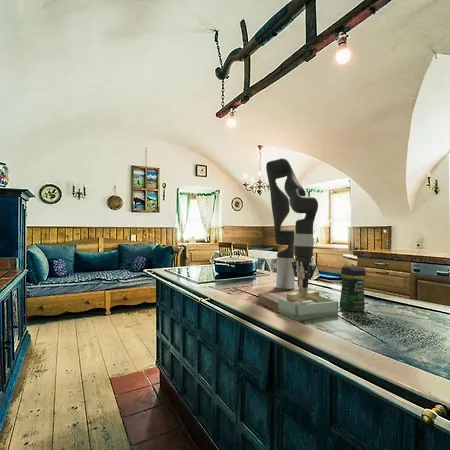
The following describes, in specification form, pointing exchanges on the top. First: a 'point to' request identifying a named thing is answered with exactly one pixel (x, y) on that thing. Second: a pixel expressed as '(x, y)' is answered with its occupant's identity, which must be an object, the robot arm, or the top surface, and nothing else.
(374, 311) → the top surface
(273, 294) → the walnut plate
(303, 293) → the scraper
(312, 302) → the cream tile
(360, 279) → the coffee jar
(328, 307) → the box
